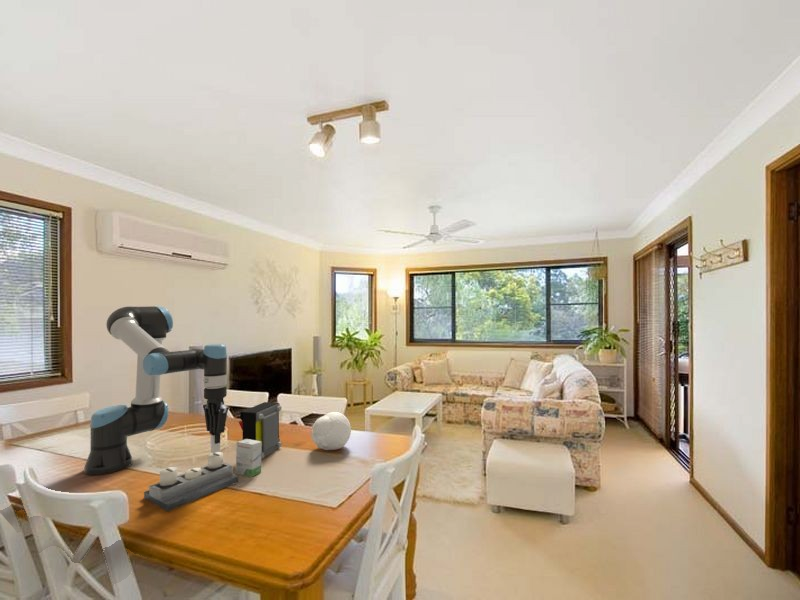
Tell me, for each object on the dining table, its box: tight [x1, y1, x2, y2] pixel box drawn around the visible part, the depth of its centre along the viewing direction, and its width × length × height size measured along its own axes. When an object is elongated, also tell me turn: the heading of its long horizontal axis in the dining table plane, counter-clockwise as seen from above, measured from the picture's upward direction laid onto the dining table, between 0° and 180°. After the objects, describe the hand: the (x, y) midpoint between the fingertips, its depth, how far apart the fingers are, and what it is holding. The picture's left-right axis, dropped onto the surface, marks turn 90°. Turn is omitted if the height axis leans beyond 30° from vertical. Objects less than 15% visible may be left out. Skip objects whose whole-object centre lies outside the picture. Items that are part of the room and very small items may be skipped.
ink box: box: [235, 439, 262, 477], centre depth 145 cm, size 9×5×12 cm, turn 65°
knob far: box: [207, 451, 224, 468], centre depth 138 cm, size 5×5×4 cm
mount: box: [143, 461, 239, 512], centre depth 131 cm, size 16×24×5 cm, turn 146°
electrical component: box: [238, 401, 283, 460], centre depth 164 cm, size 18×10×20 cm, turn 166°
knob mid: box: [184, 467, 201, 480], centre depth 131 cm, size 5×5×4 cm
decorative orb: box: [311, 411, 352, 451], centre depth 168 cm, size 20×18×16 cm
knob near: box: [159, 466, 179, 486], centre depth 125 cm, size 5×5×4 cm
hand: (215, 451), depth 138 cm, fingers closed
